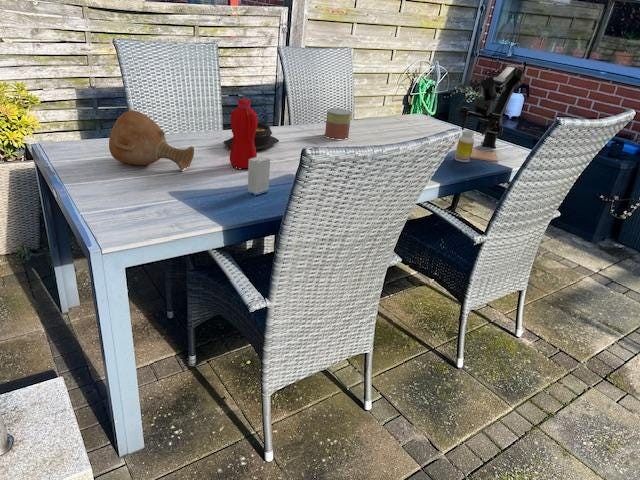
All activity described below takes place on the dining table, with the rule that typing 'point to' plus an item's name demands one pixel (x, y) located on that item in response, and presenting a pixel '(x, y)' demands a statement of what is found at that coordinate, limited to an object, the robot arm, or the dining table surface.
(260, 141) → the black hat
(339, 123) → the canned food
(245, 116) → the water bottle
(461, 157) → the supplement bottle
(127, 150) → the jug
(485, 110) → the robot arm
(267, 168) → the skincare box
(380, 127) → the dining table surface
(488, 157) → the terracotta tile
